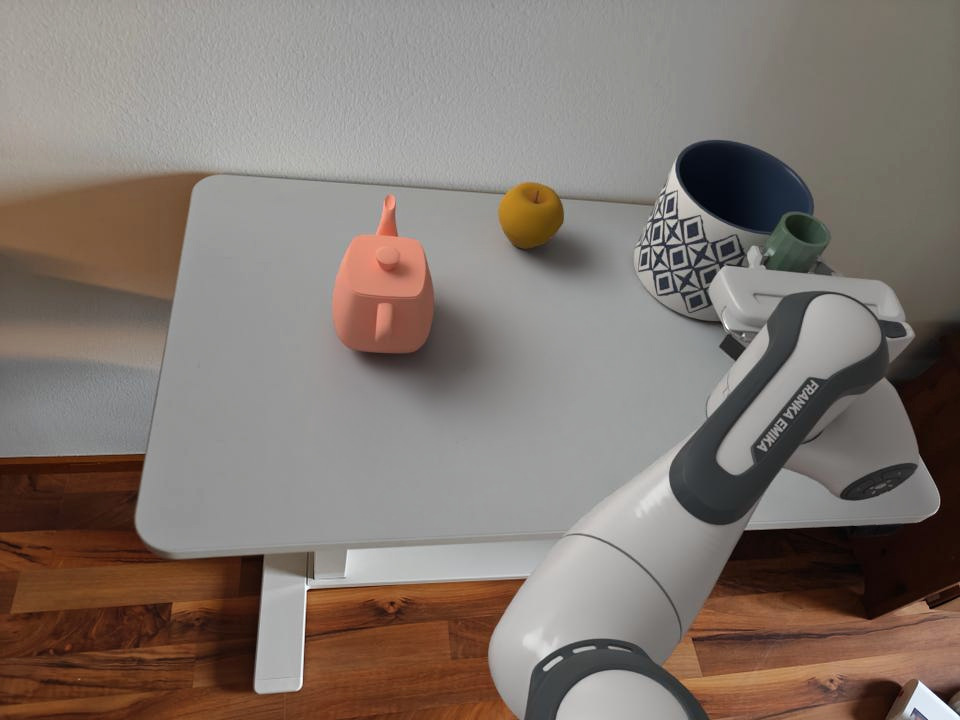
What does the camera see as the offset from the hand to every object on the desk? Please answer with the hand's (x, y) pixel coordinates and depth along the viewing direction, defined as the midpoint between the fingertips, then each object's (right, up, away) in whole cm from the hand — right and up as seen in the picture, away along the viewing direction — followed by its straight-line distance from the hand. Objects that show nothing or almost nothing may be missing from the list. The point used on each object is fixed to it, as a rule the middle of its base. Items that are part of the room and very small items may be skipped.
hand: (784, 253), depth 83 cm
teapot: (-47, -7, +6) cm, 48 cm away
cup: (-1, -4, +4) cm, 6 cm away
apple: (-29, +4, +19) cm, 35 cm away
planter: (-4, 0, +21) cm, 21 cm away
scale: (+4, -12, +13) cm, 18 cm away
